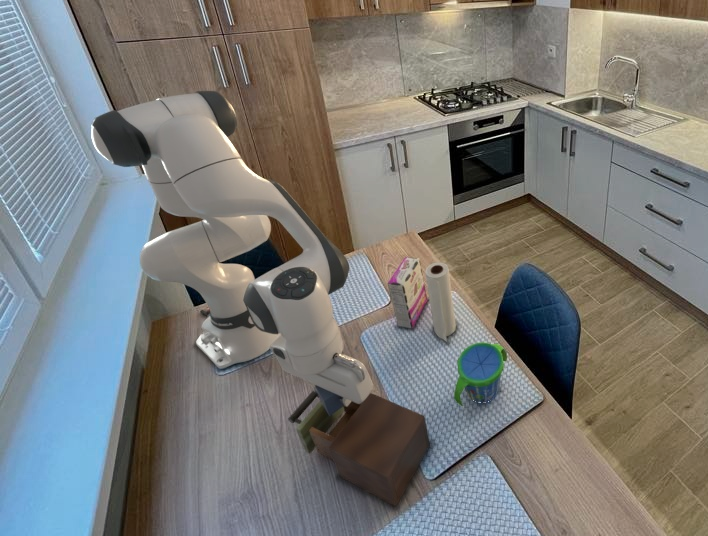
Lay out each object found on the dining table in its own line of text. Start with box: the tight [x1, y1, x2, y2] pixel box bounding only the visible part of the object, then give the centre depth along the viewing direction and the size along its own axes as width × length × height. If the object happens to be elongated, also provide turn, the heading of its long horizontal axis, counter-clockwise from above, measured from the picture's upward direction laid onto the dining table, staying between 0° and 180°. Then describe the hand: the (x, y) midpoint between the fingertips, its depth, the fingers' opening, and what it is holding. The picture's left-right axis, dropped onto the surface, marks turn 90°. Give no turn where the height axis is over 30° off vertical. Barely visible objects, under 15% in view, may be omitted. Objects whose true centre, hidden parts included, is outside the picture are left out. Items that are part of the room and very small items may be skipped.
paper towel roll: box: [424, 261, 457, 343], centre depth 108 cm, size 7×6×21 cm
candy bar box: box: [387, 256, 428, 329], centre depth 115 cm, size 11×5×16 cm, turn 168°
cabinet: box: [329, 392, 431, 508], centre depth 81 cm, size 14×12×10 cm
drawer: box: [287, 390, 363, 461], centre depth 86 cm, size 18×11×8 cm, turn 68°
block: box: [315, 385, 344, 416], centre depth 80 cm, size 5×5×5 cm
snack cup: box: [453, 342, 508, 407], centre depth 94 cm, size 16×11×10 cm
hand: (333, 395), depth 80 cm, fingers closed on block, 5 cm apart
